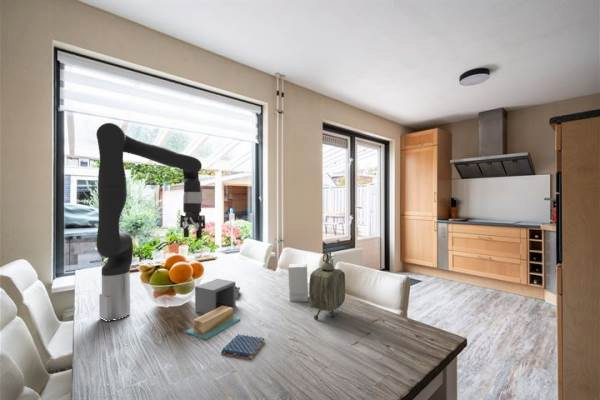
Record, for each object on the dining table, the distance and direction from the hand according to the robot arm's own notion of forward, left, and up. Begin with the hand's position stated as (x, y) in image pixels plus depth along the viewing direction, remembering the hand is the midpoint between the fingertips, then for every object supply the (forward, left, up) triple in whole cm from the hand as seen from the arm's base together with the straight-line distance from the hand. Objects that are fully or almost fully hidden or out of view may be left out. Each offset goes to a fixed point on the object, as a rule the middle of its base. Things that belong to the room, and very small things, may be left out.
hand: (192, 237), depth 122 cm
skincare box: (+24, -42, -29) cm, 56 cm away
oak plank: (-14, -28, -28) cm, 42 cm away
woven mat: (-20, -47, -29) cm, 59 cm away
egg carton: (+13, -11, -29) cm, 33 cm away
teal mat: (-13, -28, -29) cm, 42 cm away
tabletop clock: (+14, -61, -29) cm, 69 cm away
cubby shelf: (-1, -16, -28) cm, 33 cm away
